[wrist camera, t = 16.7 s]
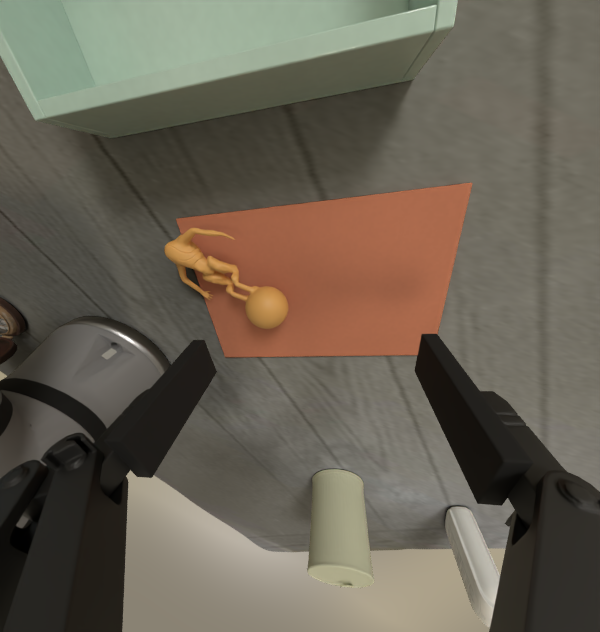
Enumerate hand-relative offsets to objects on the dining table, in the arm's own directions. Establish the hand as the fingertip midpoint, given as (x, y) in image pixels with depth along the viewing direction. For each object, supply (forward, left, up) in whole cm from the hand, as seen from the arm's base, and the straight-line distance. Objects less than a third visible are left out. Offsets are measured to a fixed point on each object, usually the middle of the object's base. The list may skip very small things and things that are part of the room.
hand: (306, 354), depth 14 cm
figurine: (-3, -2, -6) cm, 7 cm away
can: (+1, -38, -10) cm, 39 cm away
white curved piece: (+23, -48, -10) cm, 54 cm away
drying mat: (0, 0, -10) cm, 10 cm away
